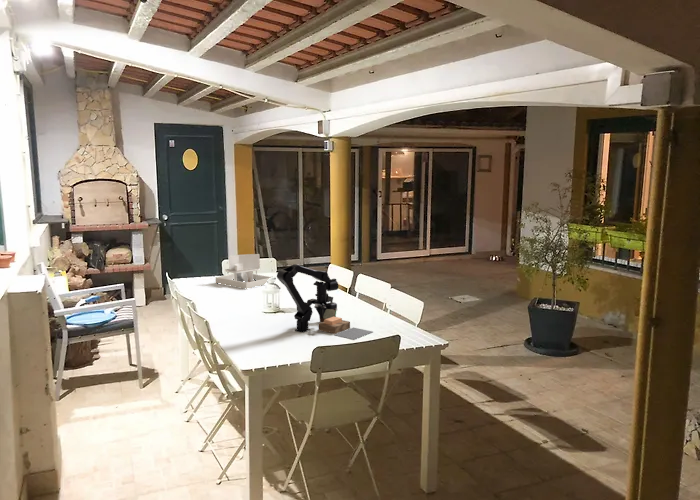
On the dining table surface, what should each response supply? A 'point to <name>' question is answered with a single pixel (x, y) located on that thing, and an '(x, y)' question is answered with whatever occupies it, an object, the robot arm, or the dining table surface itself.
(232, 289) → the dining table surface
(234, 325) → the dining table surface
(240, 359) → the dining table surface
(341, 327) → the brown flat block
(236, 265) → the architectural model
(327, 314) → the food container
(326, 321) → the peach block
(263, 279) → the holder corral
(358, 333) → the mat
